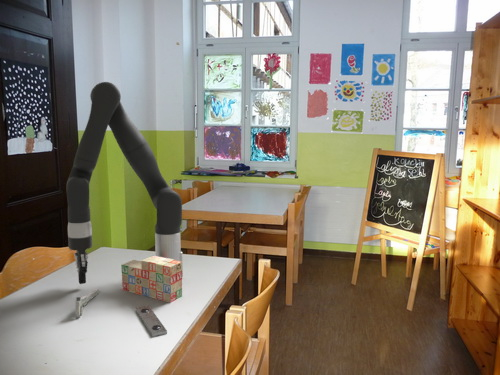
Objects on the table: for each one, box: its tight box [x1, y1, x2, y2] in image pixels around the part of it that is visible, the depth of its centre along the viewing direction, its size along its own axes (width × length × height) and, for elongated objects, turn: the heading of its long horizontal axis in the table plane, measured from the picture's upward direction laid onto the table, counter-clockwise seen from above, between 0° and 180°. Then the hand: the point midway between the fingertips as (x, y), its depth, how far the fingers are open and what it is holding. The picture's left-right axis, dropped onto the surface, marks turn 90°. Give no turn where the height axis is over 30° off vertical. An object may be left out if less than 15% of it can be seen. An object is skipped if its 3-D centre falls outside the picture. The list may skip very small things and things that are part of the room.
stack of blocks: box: [121, 255, 183, 303], centre depth 138 cm, size 21×6×12 cm, turn 62°
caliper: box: [75, 289, 101, 319], centre depth 129 cm, size 20×1×6 cm, turn 4°
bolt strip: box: [135, 305, 168, 338], centre depth 118 cm, size 4×18×1 cm, turn 29°
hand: (82, 282), depth 141 cm, fingers closed
